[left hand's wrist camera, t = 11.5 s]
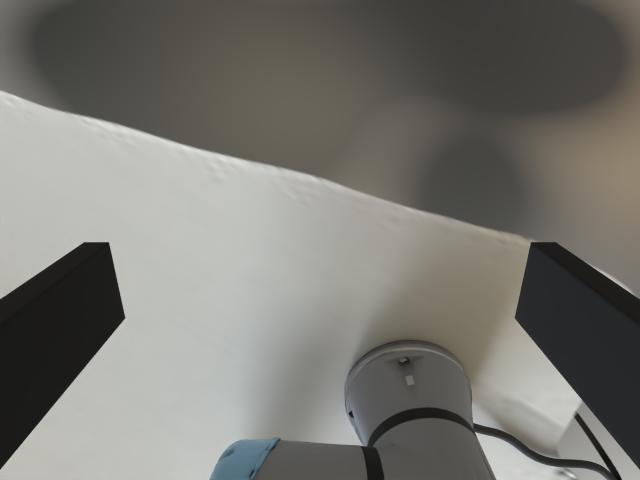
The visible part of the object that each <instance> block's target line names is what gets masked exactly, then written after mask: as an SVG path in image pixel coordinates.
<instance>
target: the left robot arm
mask: <svg viewBox="0 0 640 480" xmlns="http://www.w3.org/2000/svg"><path fill="white" fill-rule="evenodd" d="M124 319H125V315H124V310H123V306H122V301H121V296H120V292H119V287H118V282H117V278H116V273H115V268H114V264H113V259H112V254H111V250H110V245H109V242H84V243H83V244H81V245H80V246H78V247H77V248H75V249H74V250H72V251H71V252H69V253H68V254H66V255H65V256H63V257H62V258H61V259H59V260H58V261H56V262H55V263H53V264H52V265H50V266H49V267H47V268H46V269H44V270H43V271H41V272H40V273H38V274H37V275H36V276H34V277H33V278H31V279H30V280H28V281H27V282H25V283H24V284H22V285H21V286H19V287H18V288H16V289H15V290H13V291H12V292H11V293H9V294H8V295H6V296H5V297H3V298H2V299H0V469H1V468H2V467H3V466H4V464H5V463H6V462H7V461H8V460H9V458H10V457H11V456H12V455H13V454H14V452H15V451H16V450H17V449H18V447H19V446H20V445H21V444H22V443H23V441H24V440H25V439H26V438H27V437H28V435H29V434H30V433H31V432H32V430H33V429H34V428H35V427H36V426H37V424H38V423H39V422H40V421H41V420H42V418H43V417H44V416H45V415H46V414H47V412H48V411H49V410H50V409H51V407H52V406H53V405H54V404H55V403H56V401H57V400H58V399H59V398H60V397H61V395H62V394H63V393H64V392H65V391H66V389H67V388H68V387H69V386H70V384H71V383H72V382H73V381H74V380H75V378H76V377H77V376H78V375H79V374H80V372H81V371H82V370H83V369H84V367H85V366H86V365H87V364H88V363H89V361H90V360H91V359H92V358H93V357H94V355H95V354H96V353H97V352H98V351H99V349H100V348H101V347H102V346H103V344H104V343H105V342H106V341H107V340H108V338H109V337H110V336H111V335H112V334H113V332H114V331H115V330H116V329H117V327H118V326H119V325H120V324H121V323H122V321H123V320H124ZM515 319H516V320H517V321H518V323H519V324H520V325H521V326H522V327H523V329H524V330H525V331H526V332H527V334H528V335H529V336H530V337H531V338H532V340H533V341H534V342H535V343H536V344H537V346H538V347H539V348H540V349H541V351H542V352H543V353H544V354H545V355H546V357H547V358H548V359H549V360H550V361H551V363H552V364H553V365H554V366H555V367H556V369H557V370H558V371H559V372H560V374H561V375H562V376H563V377H564V378H565V380H566V381H567V382H568V383H569V384H570V386H571V387H572V388H573V389H574V391H575V392H576V393H577V394H578V395H579V397H580V398H581V399H582V400H583V401H584V403H585V404H586V405H587V406H588V407H589V409H590V410H591V411H592V412H593V414H594V415H595V416H596V417H597V418H598V420H599V421H600V422H601V423H602V424H603V426H604V427H605V428H606V429H607V431H608V432H609V433H610V434H611V435H612V437H613V438H614V439H615V440H616V441H617V443H618V444H619V445H620V446H621V447H622V449H623V450H624V451H625V452H626V454H627V455H628V456H629V457H630V458H631V460H632V461H633V462H634V463H635V464H636V466H637V467H638V468H639V469H640V299H638V298H637V297H635V296H634V295H632V294H631V293H629V292H628V291H627V290H625V289H624V288H622V287H621V286H619V285H618V284H616V283H615V282H613V281H612V280H610V279H609V278H607V277H606V276H604V275H603V274H602V273H600V272H599V271H597V270H596V269H594V268H593V267H591V266H590V265H588V264H587V263H585V262H584V261H582V260H581V259H579V258H578V257H577V256H575V255H574V254H572V253H571V252H569V251H568V250H566V249H565V248H563V247H562V246H560V245H559V244H557V243H556V242H531V245H530V250H529V254H528V259H527V264H526V268H525V273H524V278H523V282H522V287H521V292H520V296H519V301H518V306H517V310H516V315H515ZM345 406H346V412H347V415H348V418H349V420H350V422H351V424H352V426H353V427H354V429H355V432H356V434H357V435H358V437H359V439H360V441H361V443H362V445H363V446H357V445H338V444H324V443H310V442H296V441H282V440H281V438H274V439H273V440H240V441H237V442H235V443H233V444H232V445H230V446H229V447H228V448H227V449H226V450H225V451H224V453H223V454H222V455H221V457H220V459H219V461H218V463H217V464H216V466H215V468H214V471H213V473H212V475H211V477H210V480H496V478H495V476H494V474H493V471H492V469H491V467H490V465H489V463H488V460H487V458H486V456H485V454H484V452H483V450H482V447H481V445H480V443H479V441H478V439H477V436H476V434H475V432H477V433H480V434H484V435H489V436H494V437H497V438H500V439H502V440H504V441H506V442H508V443H510V444H511V445H513V446H514V447H515V448H517V449H518V450H519V451H521V452H522V453H523V454H525V455H526V456H528V457H529V458H531V459H533V460H535V461H537V462H539V463H542V464H545V465H549V466H556V467H570V468H586V469H590V470H594V471H596V472H598V473H600V474H601V475H603V476H604V477H605V478H606V479H607V480H622V478H621V476H620V474H619V472H618V471H617V469H616V467H615V466H614V464H613V463H612V461H611V460H610V458H609V456H608V455H607V453H606V452H605V450H604V449H603V447H602V446H601V444H600V443H599V442H598V440H597V439H596V437H595V436H594V434H593V433H592V431H591V430H590V429H589V427H588V426H587V424H586V423H585V422H584V420H583V419H582V418H581V416H580V415H579V414H578V412H577V411H576V412H575V414H574V416H573V417H574V418H575V419H576V421H577V422H578V424H579V425H580V426H581V428H582V429H583V431H584V432H585V434H586V435H587V436H588V438H589V440H590V441H591V442H592V444H593V445H594V447H595V449H596V450H597V452H598V453H599V455H600V456H601V458H602V460H603V461H604V463H605V464H606V466H607V468H608V469H609V471H610V472H609V471H608V470H607V469H605V468H604V467H602V466H601V465H599V464H596V463H593V462H589V461H583V460H570V459H554V458H549V457H545V456H542V455H540V454H537V453H535V452H534V451H532V450H530V449H529V448H528V447H526V446H525V445H524V444H522V443H521V442H520V441H519V440H517V439H516V438H514V437H513V436H511V435H510V434H508V433H506V432H503V431H501V430H498V429H494V428H489V427H485V426H481V425H478V424H474V423H473V417H472V407H471V406H472V392H471V386H470V382H469V380H468V377H467V375H466V373H465V371H464V369H463V367H462V366H461V364H460V363H459V361H458V360H457V359H456V358H455V357H454V356H453V355H452V354H451V353H449V352H448V351H447V350H445V349H443V348H441V347H439V346H437V345H434V344H431V343H427V342H422V341H399V342H394V343H390V344H386V345H383V346H381V347H379V348H376V349H374V350H373V351H371V352H369V353H368V354H366V355H365V356H364V357H363V358H361V359H360V360H359V361H358V362H357V363H356V365H355V366H354V367H353V368H352V370H351V371H350V373H349V375H348V378H347V380H346V384H345Z"/></svg>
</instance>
